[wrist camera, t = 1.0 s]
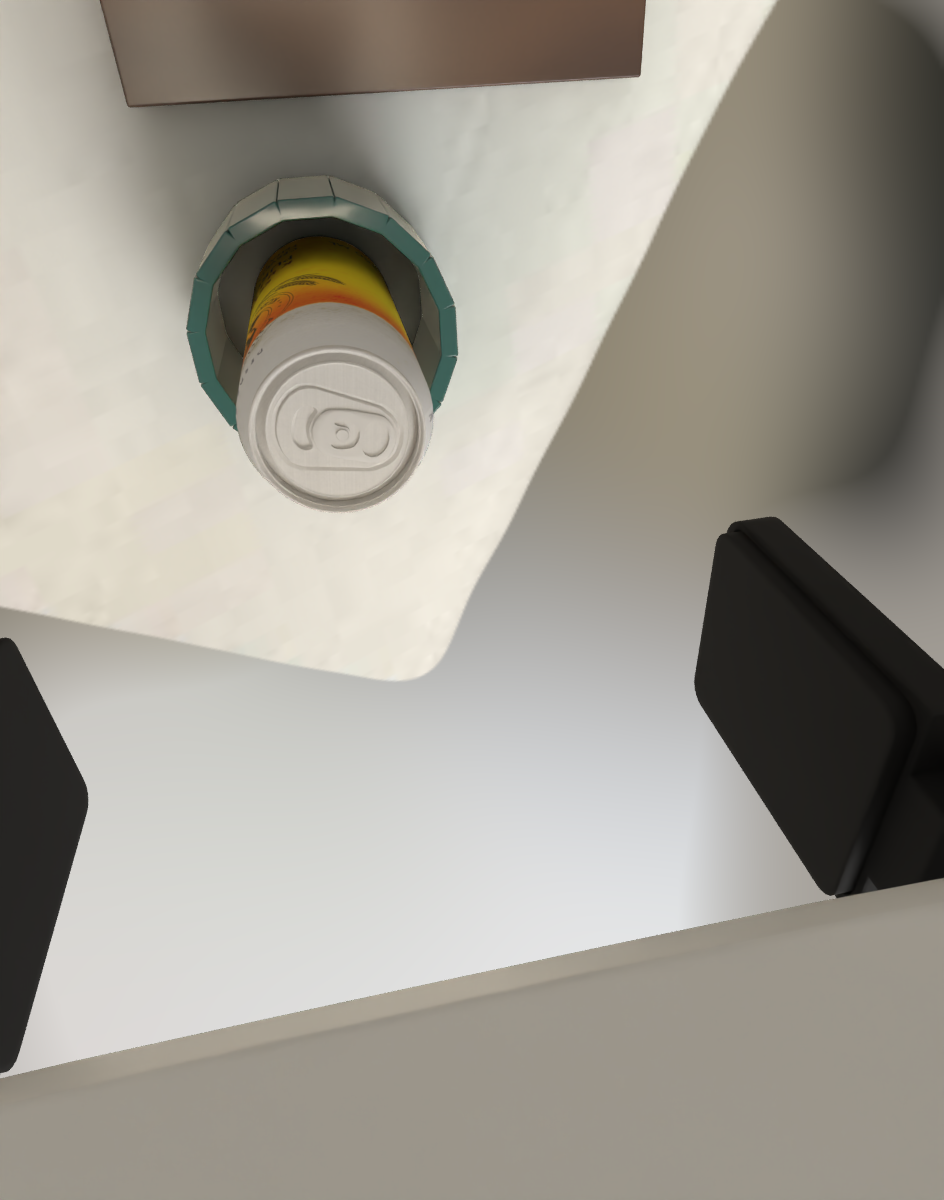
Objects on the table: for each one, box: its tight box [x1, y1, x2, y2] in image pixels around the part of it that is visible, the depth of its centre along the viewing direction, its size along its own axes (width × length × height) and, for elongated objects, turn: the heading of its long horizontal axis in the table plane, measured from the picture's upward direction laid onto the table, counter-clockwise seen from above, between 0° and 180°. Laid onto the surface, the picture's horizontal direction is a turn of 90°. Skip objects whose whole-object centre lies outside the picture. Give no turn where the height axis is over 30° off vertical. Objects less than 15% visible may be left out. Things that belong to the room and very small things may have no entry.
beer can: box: [236, 236, 433, 513], centre depth 29 cm, size 6×6×15 cm
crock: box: [186, 175, 458, 431], centre depth 32 cm, size 10×10×6 cm
